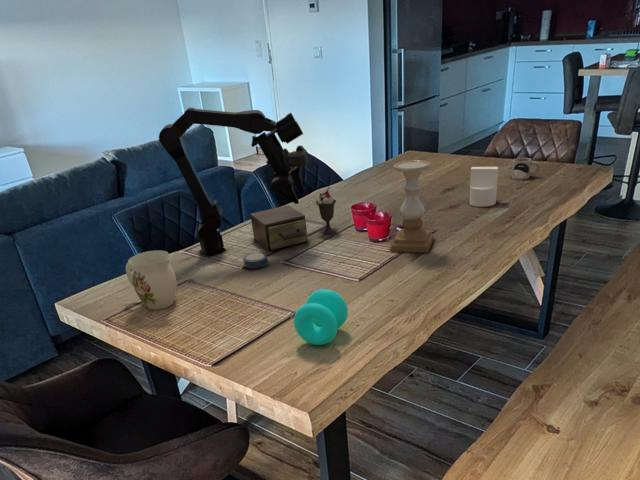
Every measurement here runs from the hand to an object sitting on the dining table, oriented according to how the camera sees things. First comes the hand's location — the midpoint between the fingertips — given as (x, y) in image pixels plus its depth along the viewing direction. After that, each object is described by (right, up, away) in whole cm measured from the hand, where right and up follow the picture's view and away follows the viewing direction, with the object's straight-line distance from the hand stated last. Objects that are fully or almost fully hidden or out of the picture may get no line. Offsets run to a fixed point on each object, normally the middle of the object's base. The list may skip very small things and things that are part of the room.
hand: (300, 197), depth 176 cm
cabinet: (-7, -11, +10) cm, 16 cm away
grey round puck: (-13, -23, -7) cm, 27 cm away
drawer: (-5, -13, +5) cm, 15 cm away
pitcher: (-37, -36, -24) cm, 57 cm away
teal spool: (+7, -46, -48) cm, 66 cm away
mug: (+87, +21, +45) cm, 100 cm away
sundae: (+9, -8, +12) cm, 17 cm away
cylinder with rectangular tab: (+64, +5, +23) cm, 68 cm away
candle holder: (+34, -16, -5) cm, 38 cm away
